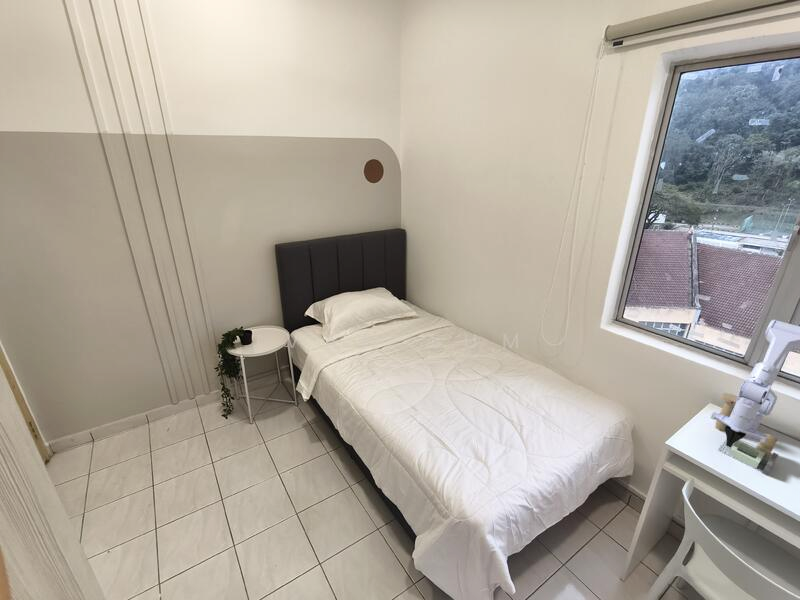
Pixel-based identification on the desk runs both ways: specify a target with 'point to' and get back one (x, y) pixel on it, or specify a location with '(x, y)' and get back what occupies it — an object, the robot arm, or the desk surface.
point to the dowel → (767, 445)
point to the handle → (726, 409)
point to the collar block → (744, 457)
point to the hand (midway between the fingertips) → (729, 445)
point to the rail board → (769, 463)
